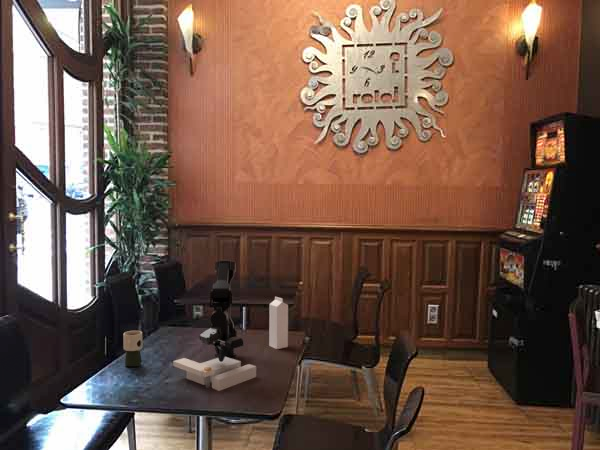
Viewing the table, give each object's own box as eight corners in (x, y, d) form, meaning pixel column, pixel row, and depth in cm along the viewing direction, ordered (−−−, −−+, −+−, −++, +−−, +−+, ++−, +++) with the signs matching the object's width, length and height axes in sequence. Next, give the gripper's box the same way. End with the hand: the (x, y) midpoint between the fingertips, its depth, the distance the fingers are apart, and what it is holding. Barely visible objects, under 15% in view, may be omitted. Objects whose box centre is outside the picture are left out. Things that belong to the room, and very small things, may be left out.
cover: (204, 377, 182) (204, 370, 182) (173, 365, 194) (173, 359, 194) (215, 373, 186) (215, 367, 186) (184, 362, 198) (184, 356, 197)
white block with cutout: (184, 379, 193) (184, 367, 192) (223, 365, 207) (223, 355, 207) (217, 391, 181) (217, 379, 181) (256, 376, 195) (256, 365, 195)
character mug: (139, 370, 202) (138, 336, 201) (120, 370, 201) (119, 337, 200) (145, 360, 212) (145, 329, 211) (127, 360, 212) (127, 329, 211)
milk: (276, 349, 229) (276, 299, 227) (269, 346, 233) (269, 297, 232) (288, 347, 232) (288, 297, 230) (280, 343, 237) (280, 295, 235)
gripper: (187, 320, 196) (188, 361, 197) (221, 329, 184) (221, 372, 185) (211, 314, 204) (211, 354, 205) (244, 323, 192) (244, 364, 193)
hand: (221, 361), depth 197 cm, fingers closed
